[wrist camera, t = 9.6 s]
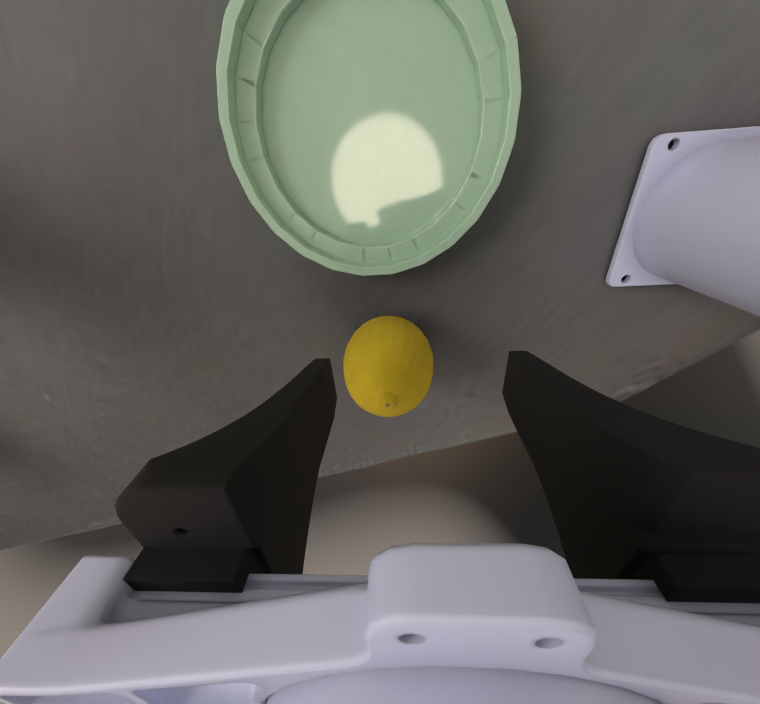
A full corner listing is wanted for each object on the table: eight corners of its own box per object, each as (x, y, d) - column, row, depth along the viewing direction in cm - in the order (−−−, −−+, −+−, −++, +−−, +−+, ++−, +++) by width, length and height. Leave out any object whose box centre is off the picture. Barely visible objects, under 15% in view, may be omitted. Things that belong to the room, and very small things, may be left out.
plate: (528, -92, 12) (553, -140, 10) (487, 259, 19) (498, 269, 17) (197, -50, 13) (164, -86, 11) (274, 271, 20) (262, 281, 18)
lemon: (398, 376, 24) (400, 457, 17) (338, 342, 23) (314, 415, 16) (442, 324, 22) (465, 394, 15) (377, 282, 20) (369, 339, 14)
